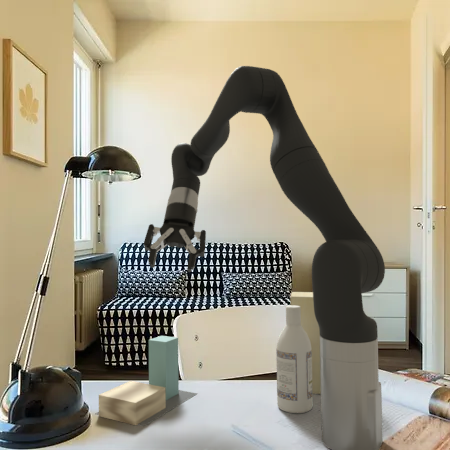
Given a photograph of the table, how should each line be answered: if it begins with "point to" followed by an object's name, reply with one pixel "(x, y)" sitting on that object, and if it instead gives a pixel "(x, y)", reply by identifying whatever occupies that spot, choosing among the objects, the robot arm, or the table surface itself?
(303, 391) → the bath foam
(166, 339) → the pillar
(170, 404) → the mat
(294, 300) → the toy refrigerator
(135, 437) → the table surface
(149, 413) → the base block
